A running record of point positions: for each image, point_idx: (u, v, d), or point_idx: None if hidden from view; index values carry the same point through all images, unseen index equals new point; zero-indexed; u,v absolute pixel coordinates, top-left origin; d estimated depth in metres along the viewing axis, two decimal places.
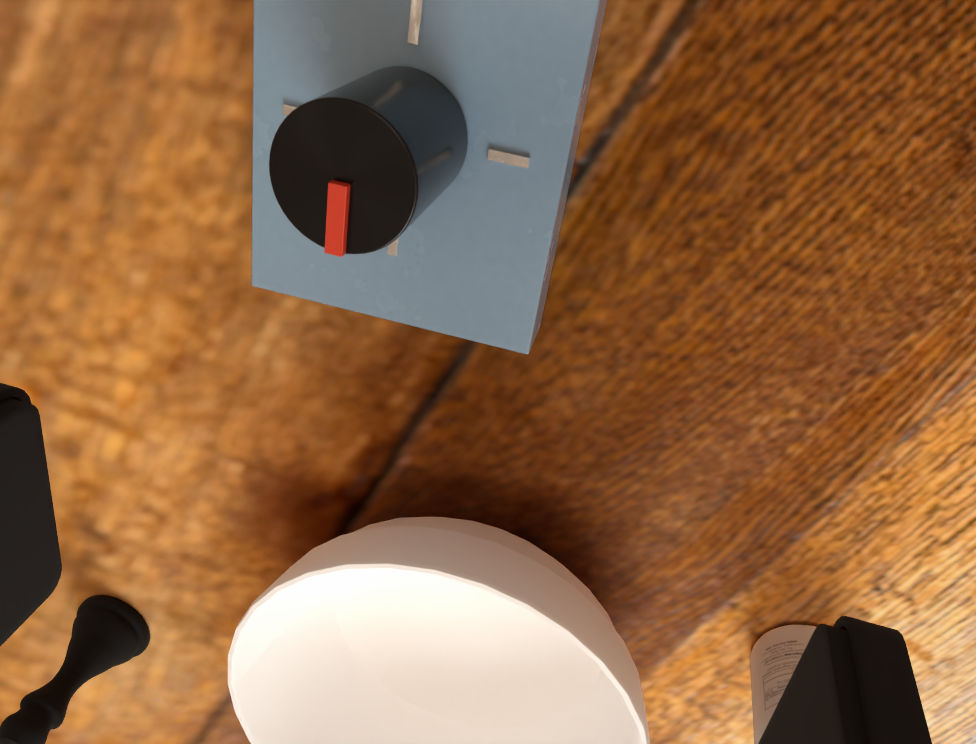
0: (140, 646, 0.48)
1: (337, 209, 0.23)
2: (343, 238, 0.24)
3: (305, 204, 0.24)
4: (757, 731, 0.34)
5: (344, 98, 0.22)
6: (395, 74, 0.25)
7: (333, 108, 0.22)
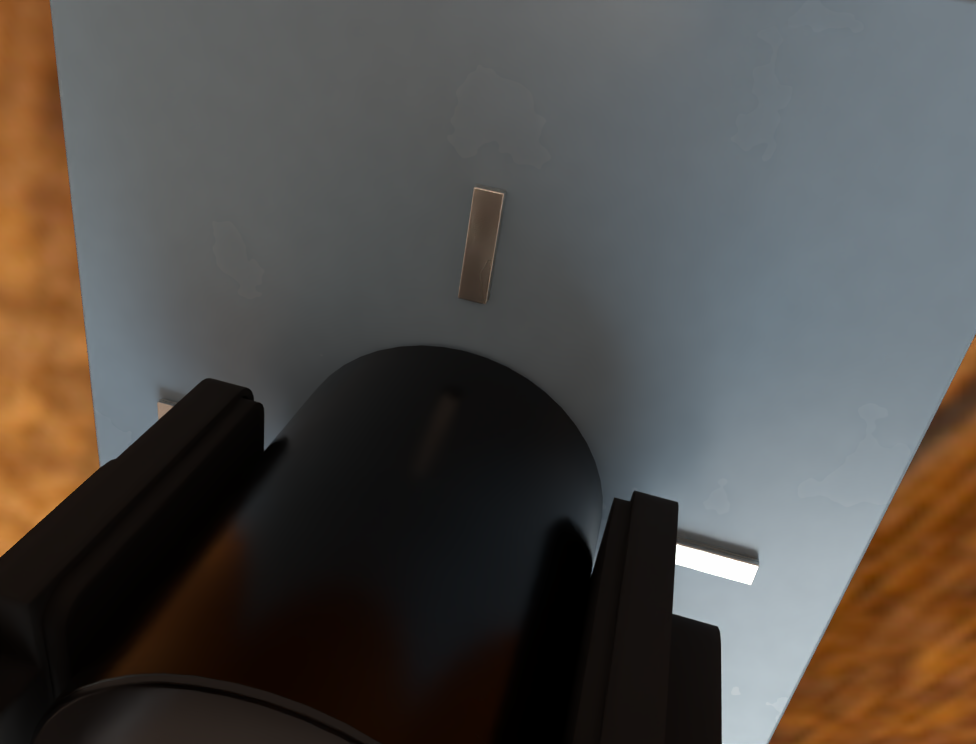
0: None
1: None
2: None
3: None
4: None
5: (258, 686, 0.06)
6: (430, 410, 0.09)
7: (218, 713, 0.06)
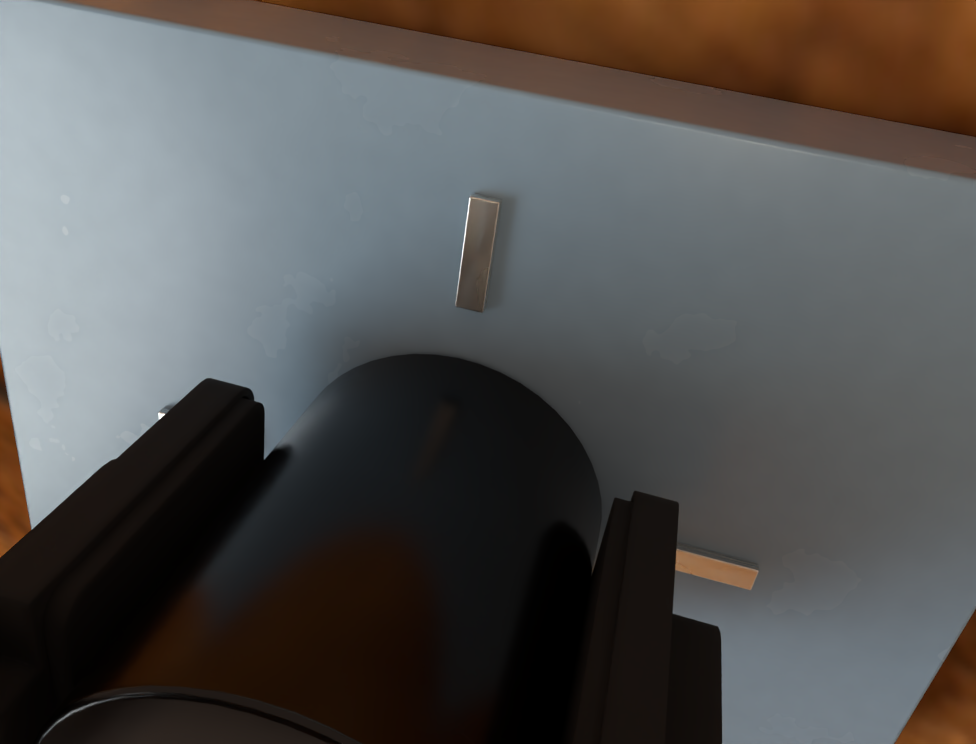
0: None
1: None
2: None
3: None
4: None
5: (245, 694, 0.06)
6: (421, 417, 0.09)
7: (208, 722, 0.06)
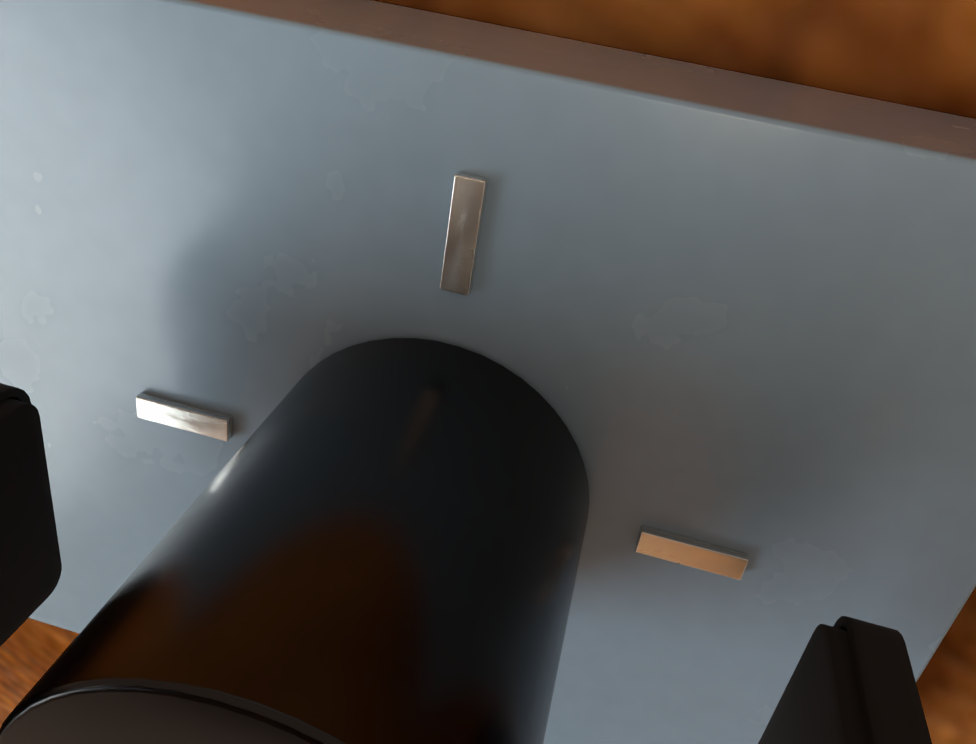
0: None
1: None
2: None
3: None
4: None
5: (205, 685, 0.06)
6: (398, 401, 0.09)
7: (168, 715, 0.06)
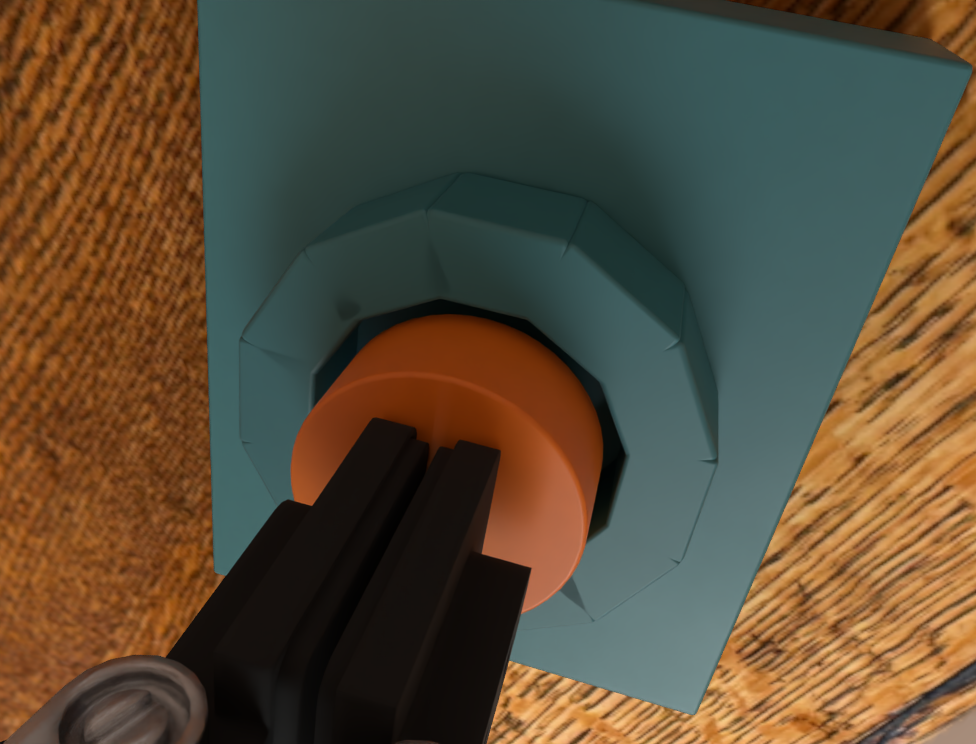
0: None
1: None
2: None
3: None
4: None
5: None
6: None
7: None
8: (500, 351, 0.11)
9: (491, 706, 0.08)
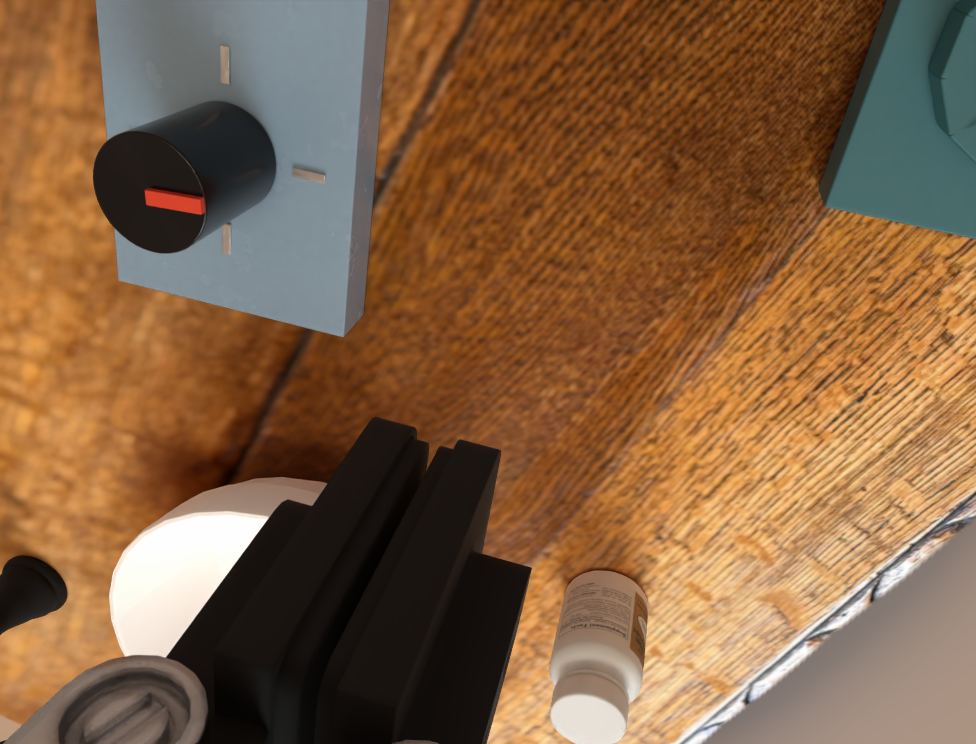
0: (58, 601, 0.54)
1: (163, 199, 0.29)
2: (187, 197, 0.29)
3: (176, 227, 0.30)
4: (551, 656, 0.40)
5: (95, 187, 0.30)
6: None
7: (101, 196, 0.30)
8: None
9: (491, 706, 0.08)
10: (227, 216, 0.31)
